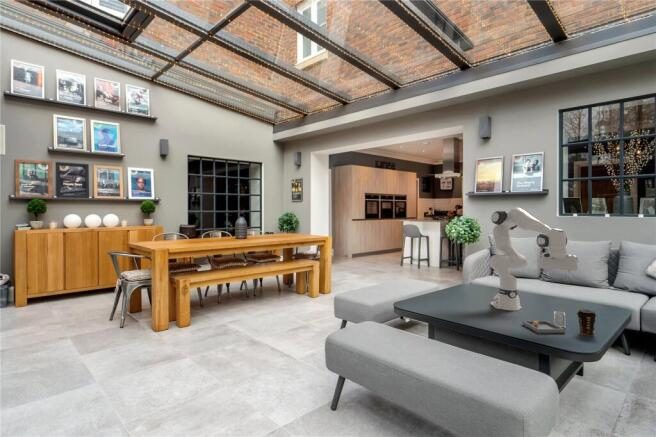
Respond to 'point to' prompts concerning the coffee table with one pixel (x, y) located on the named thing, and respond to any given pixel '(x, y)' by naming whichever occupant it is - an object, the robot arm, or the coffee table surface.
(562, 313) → the shaker
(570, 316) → the coffee table surface
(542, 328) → the tray
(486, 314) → the coffee table surface
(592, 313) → the coffee cup
